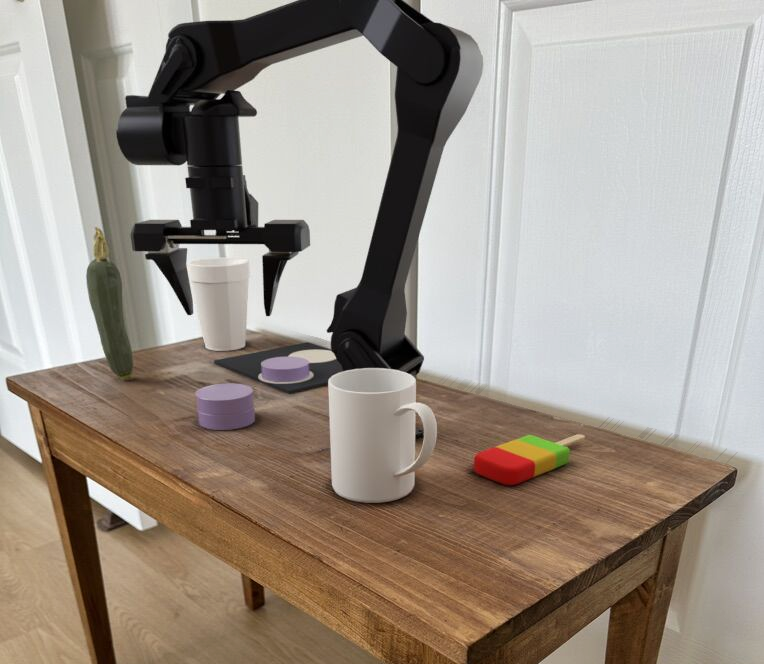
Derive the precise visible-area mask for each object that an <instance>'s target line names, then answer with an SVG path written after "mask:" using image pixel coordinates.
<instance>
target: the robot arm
mask: <svg viewBox="0 0 764 664" xmlns="http://www.w3.org/2000/svg"><path fill="white" fill-rule="evenodd" d="M167 37H168V38H167V41H166V44H165V53H164V54H163V57H162V59H161V62H160V65H159V66H158V70H157V73H156V75H155V77H154V80H153V82H152V84H151V88H150V90H149V92H148V95H137V94H130V95H125V97H124V100H125V106H126V108H125V109H124V110H123V111H121V113H120V116H119V118H118V122H117V129H116V130H115V134H116V140H117V144H118V147H119V150H120V152H121V154H122V155H123V156H124V158H125V159H126V160H127V161H128V163H130V164H131V165H134V166H182V165H184V164H186V166H187V174H188V175H187V176H188V177H185V178H184V180H185V188H186V189H189V193H190V202H191V203H190V204H191V210H192V211H191V212H192V218H191V219H190V220H189V224H190V226H182V223H181V221H180V220H179V219H148V220H142V221H140V222H136V223H134V224H133V226H132V227H131V230H130V234H129V235H130V242H131V249H132V251H133V252H147V253H145V254H144V258H145V260H147V261H153V263H155V265H156V267H157V268H158V269H159V271H160V272H161V273H162V275H163V276H164V278H165V279H166V280H167V282H168V283H169V285H170V287H171V288H172V291H173V292H174V294H175V296H176V298H177V300H178V301H179V303H180V305H181V306H182V308H183V310H184V311H185V313H186V316H192V315H194V298H193V294H192V289H191V285H190V281H189V277H188V271H187V265H186V263H187V262H188V261H187V260H188V259H187V258H188V247H180V245H264V246H265V247H266V248H267V249H268V251H267V252H266V253H264V254H263V255H261V259H262V261H261V263H262V287H263V288H262V289H263V290H262V291H263V308H264V313H265V316H266V317H271V315H272V313H273V309H274V306H275V301H276V297H277V292H278V289H279V284H280V281H281V278H282V275H283V272H284V270H285V267H286V265H287V263H288V261H291V260H292V259H294V258H295V257H296V256H298V255H299V254H300V252H303V251H304V250H306V249H308V248H309V247H310V246H311V233H310V232H311V231H310V226H309V224H308V223H307V222H306V221H305V220H304V219H273V220H270V221H268V222H265V223H264V226H259V201H257V199H256V198H255V197H254V196H253V195H252V194H251V193H250V192H249V190H248V184H247V179H246V175H245V174H244V170H243V168H244V167H243V158H242V157H243V156H242V146H241V145H242V144H241V143H242V142H241V133H240V131H241V130H240V119H239V118H253V117H256V116H257V115H258V111H257V109H256V107H254V106H253V105H252V104H251V103H250V102H249V101H248V100H247V99H245V97H244V96H243V94H242V92H241V91H240V90H237V89H239V88H241V87H243V86H244V85H246V84H248V83H250V82H251V81H253V80H254V79H255V78H256V77H257V76H258V75H259V74H260V73H261V72H262V71H263V70H265V69H267V68H268V67H270V66H271V65H274V64H277V63H281V62H285V61H288V60H290V59H293V58H297V57H300V56H303V55H306V54H309V53H313V52H315V51H319V50H322V49H325V48H328V47H331V46H336V45H339V44H342V43H344V42H349V41H352V40H354V39H357V38H361V37H364V38H365V39H366V40H367V41H368V42H369V43H370V45H372V46H373V48H375V49H376V51H378V53H379V54H381V56H383V57H384V58H385V59H386V60H388V61H389V62H390V63H392V64H393V65H394V66H395V67H396V76H395V86H394V87H395V88H394V105H395V114H396V125H397V133H396V138H395V142H394V146H393V150H392V155H391V159H390V163H389V166H388V171H387V174H386V179H385V183H384V187H383V190H382V195H381V199H380V203H379V207H378V211H377V214H376V219H375V223H374V226H373V231H372V235H371V239H370V243H369V247H368V251H367V254H366V259H365V263H364V266H363V271H362V275H361V279H360V280H359V282H358V284H357V286H356V287H354V288H351V289H349V290H346V291H343V292H341V293H338V294H337V295H336V297H335V300H334V306H333V314H332V315H333V316H332V320H331V323H330V324H329V326H328V328H327V329H326V333H327V334H330V333H331V336H330V349H331V351H332V352H333V353H334V355H335V357H336V359H337V361H338V362H339V363H340V364H341V366H342V369H343V371H348V370H354V369H363V368H383V369H393V370H398V371H402V372H406V373H408V374H410V375H412V376H413V377H415V376H417V375H419V374H420V371H421V368H422V366H423V364H424V361H425V357H424V355H423V353H422V352H421V351H420V350H419V349H418V347H416V345H415V344H414V343H413V342H412V341H411V340H410V338H409V337H408V335H406V325H407V317H408V310H407V299H406V293H405V292H406V291H405V290H406V283H407V280H408V276H409V273H410V269H411V265H412V263H413V259H414V255H415V251H416V248H417V245H418V240H419V237H420V234H421V230H422V226H423V224H424V220H425V217H426V213H427V210H428V209H427V208H428V206H429V203H430V199H431V195H432V191H433V187H434V184H435V181H436V177H437V173H438V170H439V166H440V163H441V159H442V155H443V152H444V149H445V147H446V144H447V142H448V140H449V139H450V137H451V135H452V134H453V132H454V131H455V129H456V128H457V126H458V124H459V123H460V122H461V120H462V118H463V117H464V115H465V114H466V112H467V110H468V108H469V105H470V103H471V101H472V98H473V97H474V94H475V92H476V90H477V88H478V85H479V83H480V81H481V79H482V75H483V70H484V57H483V54H482V51H481V49H480V47H479V44H478V42H477V41H476V40H475V39H474V38H473V37H472V35H470V34H469V33H467V32H465V31H463V30H461V29H458V28H455V27H452V26H449V25H447V24H443V23H442V22H436V21H435V22H434V21H433V20H432V19H430V18H429V17H427V16H426V15H425V14H423V13H422V12H421V11H419V10H418V9H416V8H415V7H413V6H412V5H410V4H409V3H408V2H407V1H404V0H295V1H292V2H289V3H286V4H284V5H281V6H278V7H275V8H271V9H269V10H267V11H264V12H261V13H257V14H255V15H252V16H249V17H246V18H243V19H233V20H232V19H231V20H228V19H227V20H199V21H190V22H181V23H178V24H176V25H175V26H173V27H172V28H171V29H170V31H169V32H168V34H167ZM221 95H223V96H221ZM220 96H221V98H219V97H220ZM191 106H193V107H192V108H191V109H190V107H191ZM205 231H215V233H214V234H205ZM420 437H424V429H423V428H419V427H418V426H417V427H416V426H415V439H417V438H420Z"/></svg>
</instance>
